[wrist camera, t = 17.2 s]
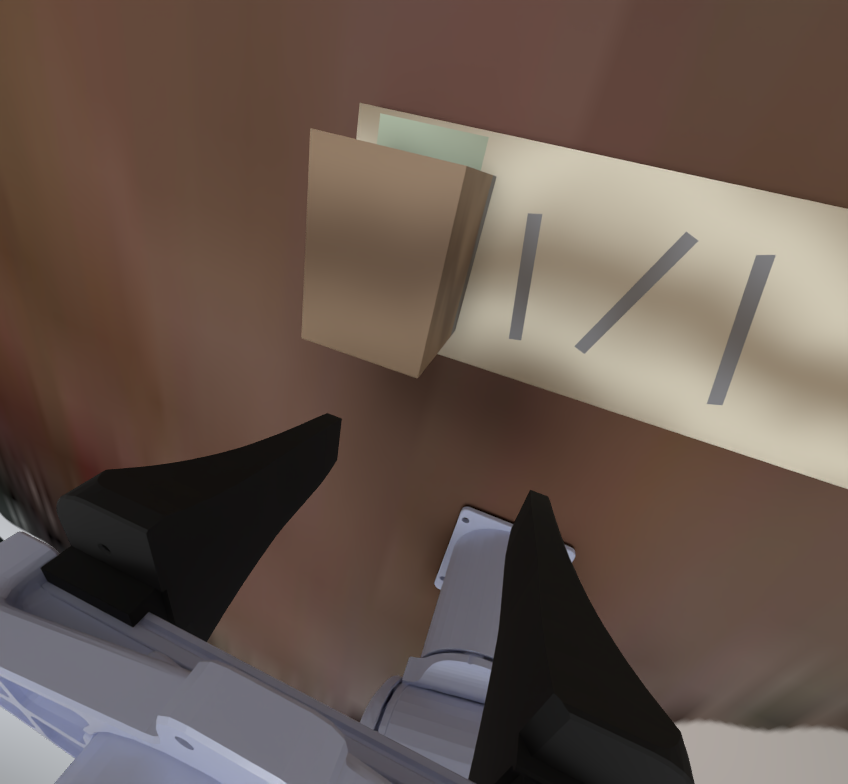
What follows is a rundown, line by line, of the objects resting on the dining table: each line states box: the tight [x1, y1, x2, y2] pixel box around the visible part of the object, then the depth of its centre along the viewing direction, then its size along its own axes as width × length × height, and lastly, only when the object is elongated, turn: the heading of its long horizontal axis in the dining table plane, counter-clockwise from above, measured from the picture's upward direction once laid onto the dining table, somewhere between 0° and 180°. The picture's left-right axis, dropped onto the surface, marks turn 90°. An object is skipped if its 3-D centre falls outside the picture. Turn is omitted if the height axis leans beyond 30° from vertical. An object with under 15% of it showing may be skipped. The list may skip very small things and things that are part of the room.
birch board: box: [356, 103, 848, 489], centre depth 17 cm, size 10×28×2 cm, turn 78°
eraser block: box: [301, 128, 496, 379], centre depth 15 cm, size 7×5×6 cm
